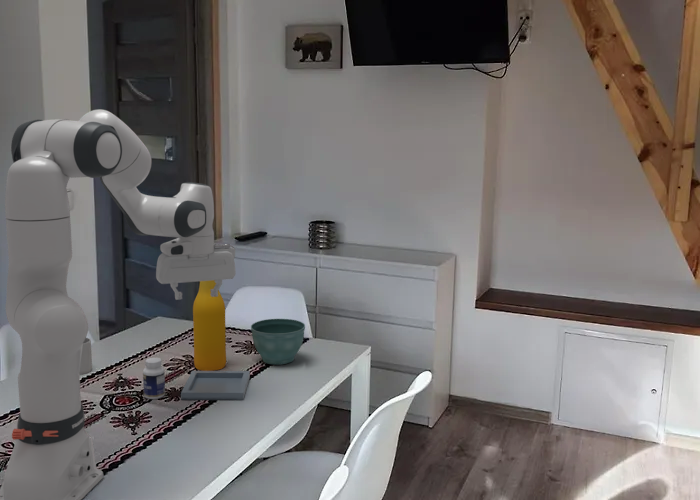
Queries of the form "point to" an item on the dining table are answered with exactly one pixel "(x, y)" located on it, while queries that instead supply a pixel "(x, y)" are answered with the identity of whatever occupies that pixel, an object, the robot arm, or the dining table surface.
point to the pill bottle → (153, 379)
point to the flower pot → (278, 339)
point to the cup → (86, 357)
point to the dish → (216, 385)
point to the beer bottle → (209, 329)
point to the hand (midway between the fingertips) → (196, 297)
